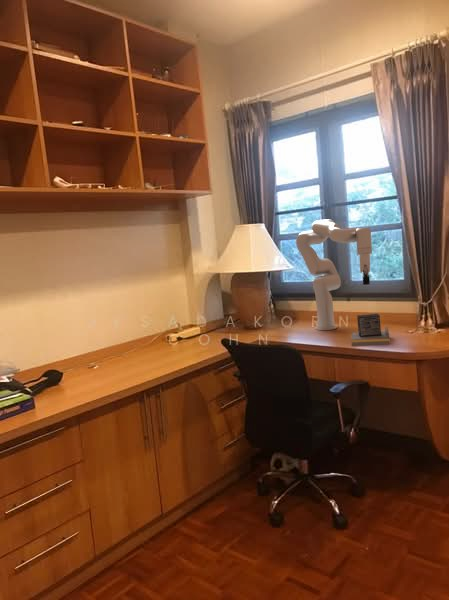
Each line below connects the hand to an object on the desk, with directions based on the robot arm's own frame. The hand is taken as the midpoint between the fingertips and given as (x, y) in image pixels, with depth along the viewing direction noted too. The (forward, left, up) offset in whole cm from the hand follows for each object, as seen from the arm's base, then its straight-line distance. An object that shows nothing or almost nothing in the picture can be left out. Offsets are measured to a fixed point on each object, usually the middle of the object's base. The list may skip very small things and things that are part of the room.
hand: (366, 283), depth 256 cm
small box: (+14, 0, -25) cm, 29 cm away
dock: (+15, 0, -28) cm, 32 cm away
